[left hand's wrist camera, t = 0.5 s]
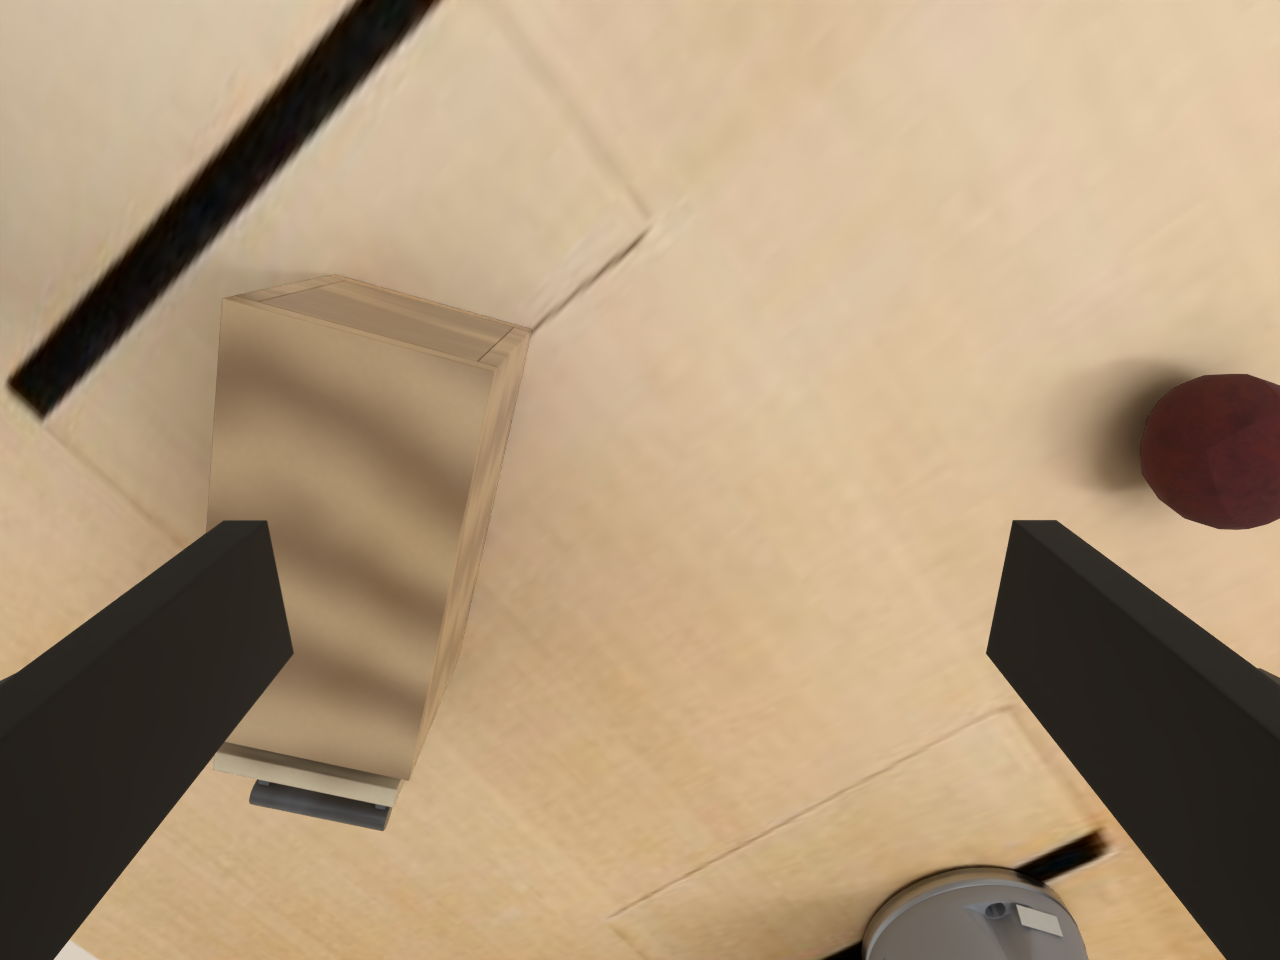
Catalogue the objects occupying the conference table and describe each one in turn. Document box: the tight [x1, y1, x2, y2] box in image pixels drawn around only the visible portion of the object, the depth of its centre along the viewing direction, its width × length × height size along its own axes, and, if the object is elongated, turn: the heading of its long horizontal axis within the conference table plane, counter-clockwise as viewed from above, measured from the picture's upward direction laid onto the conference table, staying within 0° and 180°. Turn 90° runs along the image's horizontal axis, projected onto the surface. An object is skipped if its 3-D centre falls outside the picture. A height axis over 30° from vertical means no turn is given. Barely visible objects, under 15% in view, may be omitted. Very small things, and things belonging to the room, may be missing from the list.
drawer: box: [213, 742, 405, 831], centre depth 37 cm, size 25×9×8 cm, turn 165°
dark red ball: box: [1140, 374, 1280, 530], centre depth 35 cm, size 7×8×7 cm
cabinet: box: [206, 275, 532, 780], centre depth 35 cm, size 21×10×10 cm, turn 165°
